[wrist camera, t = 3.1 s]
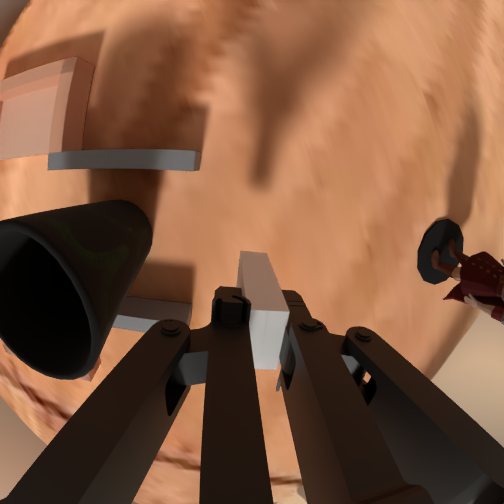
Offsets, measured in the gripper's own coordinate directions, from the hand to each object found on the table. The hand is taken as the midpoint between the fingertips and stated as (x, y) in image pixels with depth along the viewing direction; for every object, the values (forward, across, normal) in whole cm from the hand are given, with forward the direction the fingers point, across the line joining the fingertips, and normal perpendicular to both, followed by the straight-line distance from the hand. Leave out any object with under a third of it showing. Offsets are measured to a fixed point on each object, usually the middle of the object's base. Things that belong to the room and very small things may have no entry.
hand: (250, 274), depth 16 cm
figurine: (+5, +19, +1) cm, 20 cm away
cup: (+5, -10, 0) cm, 11 cm away
